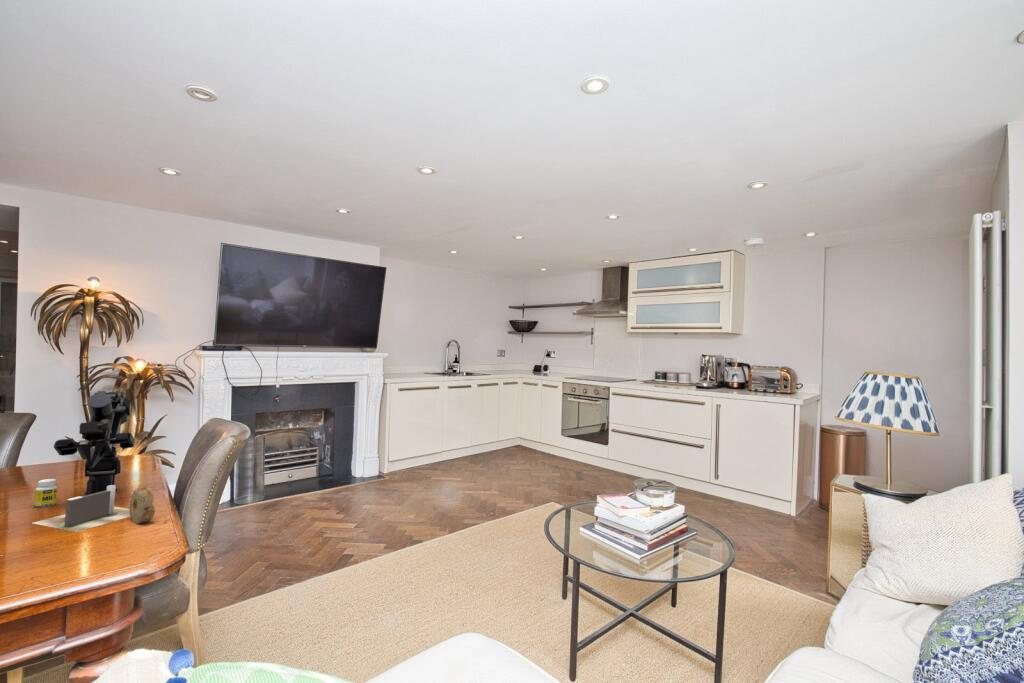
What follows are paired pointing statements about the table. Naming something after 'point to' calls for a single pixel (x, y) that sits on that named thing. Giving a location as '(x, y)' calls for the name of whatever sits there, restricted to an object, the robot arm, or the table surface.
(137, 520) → the stone disc
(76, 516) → the grey upright slab
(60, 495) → the table surface
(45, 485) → the supplement bottle
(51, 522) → the cream square board
